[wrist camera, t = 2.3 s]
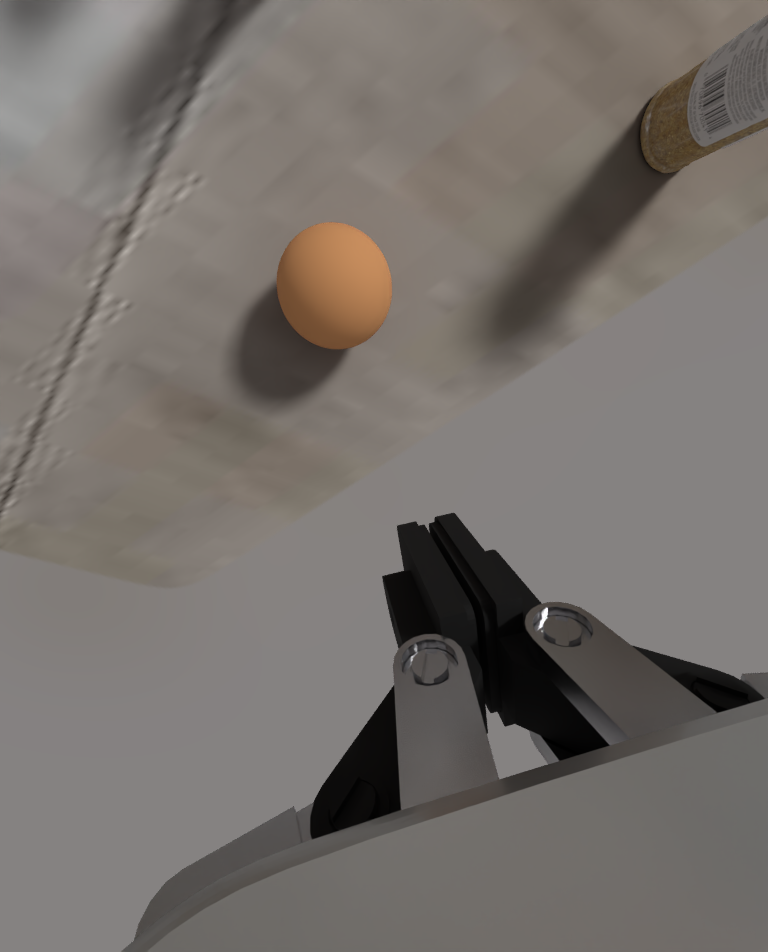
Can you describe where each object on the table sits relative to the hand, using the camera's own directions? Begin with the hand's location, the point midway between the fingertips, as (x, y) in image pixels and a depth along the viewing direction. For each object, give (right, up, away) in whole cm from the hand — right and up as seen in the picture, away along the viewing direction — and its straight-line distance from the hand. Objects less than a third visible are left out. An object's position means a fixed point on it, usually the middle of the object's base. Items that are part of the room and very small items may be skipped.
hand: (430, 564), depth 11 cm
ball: (-4, +12, +9) cm, 16 cm away
